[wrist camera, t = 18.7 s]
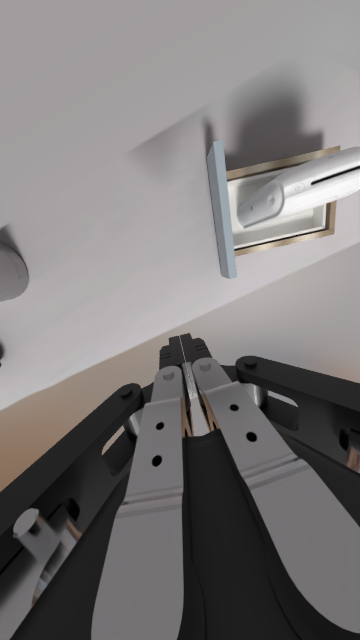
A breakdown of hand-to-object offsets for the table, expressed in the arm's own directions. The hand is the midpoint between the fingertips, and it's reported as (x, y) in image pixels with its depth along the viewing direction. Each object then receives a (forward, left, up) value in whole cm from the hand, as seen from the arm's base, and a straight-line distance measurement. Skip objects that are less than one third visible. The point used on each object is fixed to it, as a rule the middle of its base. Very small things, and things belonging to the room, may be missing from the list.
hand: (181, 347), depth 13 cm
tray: (+18, +9, -21) cm, 29 cm away
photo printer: (+18, +10, -20) cm, 28 cm away
